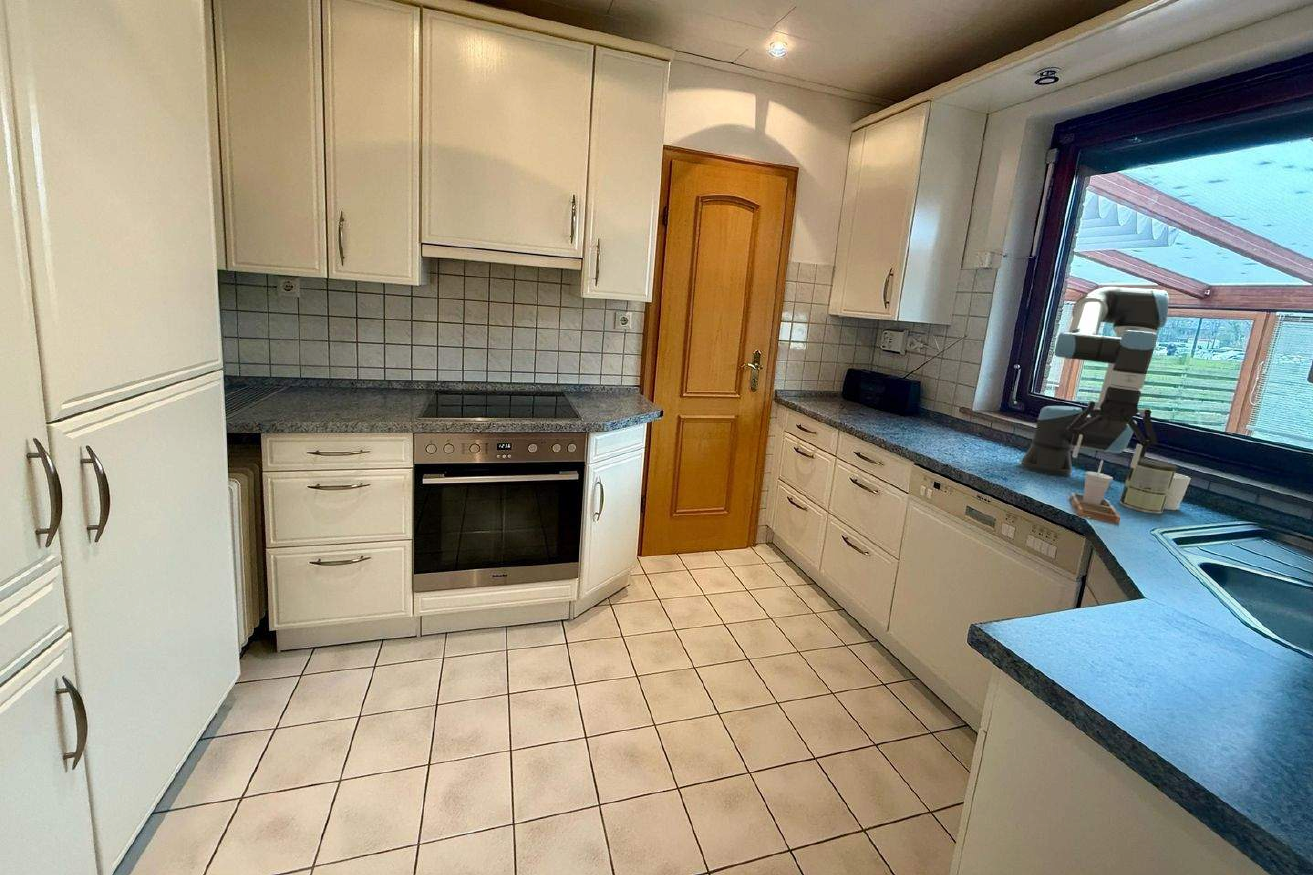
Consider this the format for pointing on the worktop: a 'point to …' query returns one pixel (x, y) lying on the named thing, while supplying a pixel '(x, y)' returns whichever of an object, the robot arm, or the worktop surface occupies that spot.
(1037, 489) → the worktop surface
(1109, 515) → the dock rack
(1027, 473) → the worktop surface
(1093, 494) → the smoothie
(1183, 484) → the white cup
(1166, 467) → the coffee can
